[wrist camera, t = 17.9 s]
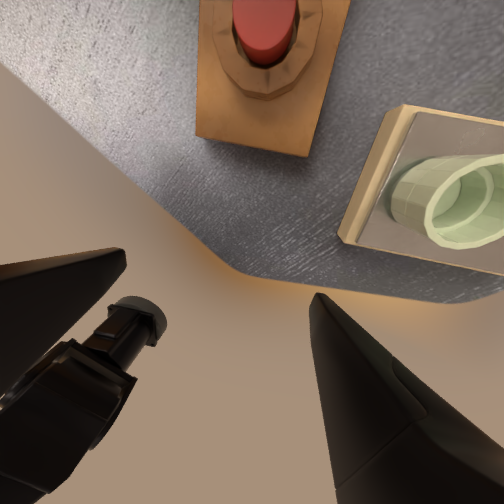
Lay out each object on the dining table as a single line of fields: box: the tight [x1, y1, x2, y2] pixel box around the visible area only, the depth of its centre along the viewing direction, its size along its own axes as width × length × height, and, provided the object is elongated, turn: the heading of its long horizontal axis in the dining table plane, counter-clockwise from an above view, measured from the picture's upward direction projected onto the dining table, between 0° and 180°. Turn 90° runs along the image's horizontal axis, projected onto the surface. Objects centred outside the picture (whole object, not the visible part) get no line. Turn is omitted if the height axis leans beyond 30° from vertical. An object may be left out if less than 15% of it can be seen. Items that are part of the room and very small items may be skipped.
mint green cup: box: [391, 154, 504, 250], centre depth 12 cm, size 5×5×4 cm
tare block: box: [195, 0, 351, 158], centre depth 12 cm, size 12×9×4 cm
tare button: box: [232, 0, 296, 65], centre depth 10 cm, size 3×3×2 cm
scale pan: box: [355, 111, 504, 274], centre depth 13 cm, size 9×14×1 cm, turn 80°
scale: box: [337, 104, 504, 276], centre depth 15 cm, size 10×15×2 cm
